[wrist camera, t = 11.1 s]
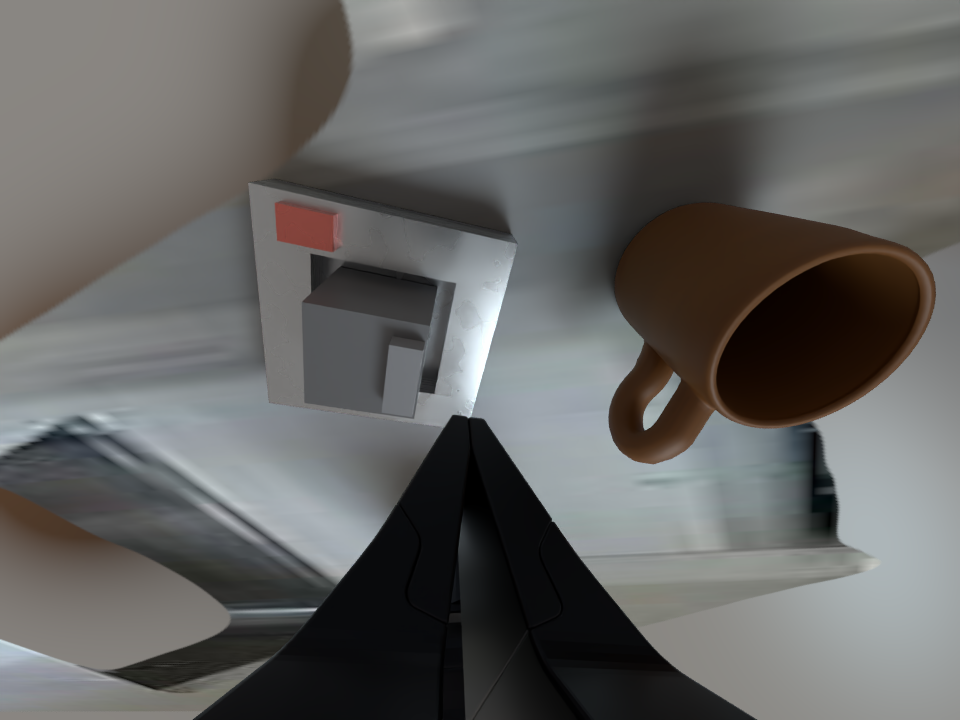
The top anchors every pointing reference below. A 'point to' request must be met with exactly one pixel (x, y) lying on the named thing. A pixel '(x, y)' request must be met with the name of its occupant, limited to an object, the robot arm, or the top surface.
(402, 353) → the plug
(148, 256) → the top surface
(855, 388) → the mug
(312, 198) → the socket plate
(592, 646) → the robot arm
